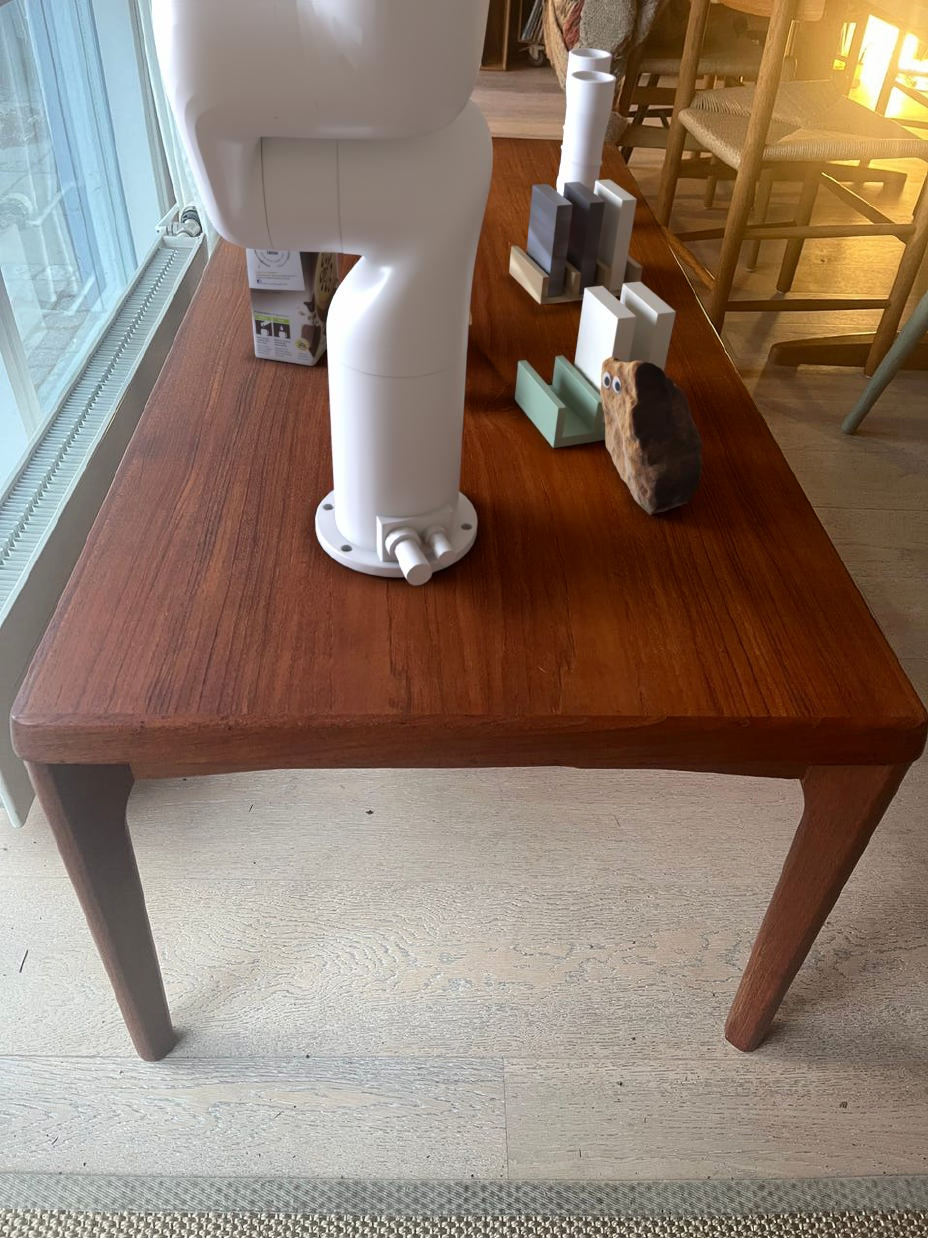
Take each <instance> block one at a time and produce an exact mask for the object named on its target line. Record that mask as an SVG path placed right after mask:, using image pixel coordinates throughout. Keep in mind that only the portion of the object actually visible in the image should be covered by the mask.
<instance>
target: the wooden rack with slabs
mask: <svg viewBox="0 0 928 1238" xmlns="http://www.w3.org/2000/svg"><path fill="white" fill-rule="evenodd" d="M531 189H532V190H531V200H530V201H531V202H530V210H529V211H530V212H529V221H528V232H527V243H526V253H525V251H524V250H523V249H522V248H520V246H518V245H511V247H510V259H509V272H508V273H509V274H510V275H511V276H512V277H513V278H514V279H515V280H516V281H517V283H519V284H520V286H522V287H523V289H524V290H525V291H527V293H528V294H529V295H530V296H531V297H532V298H533V299H534V300H535V301H536V302H537V303H538V304H539V305H550V304H556V303H565V302H575V301H583V298H584V290H585V288H587V287H596V286H603V287H604V288H605V289H607V290H608V291H609V288H610V282H611V275H612V270H611V269H610V268H609V267H608V266H607V265H606V264H604V263H603V262H602V261H601V260H600V259H599V258H598V257H597V256H598V249H599V242H600V235H601V228H602V221H603V214H604V207H605V201H603V200H602V199H601V198H600V197H598V196H597V195H596V194H594V193H593V192H592V191H591V190H589V189H588V188H587V187H585V186H584V185H583V184H581V183H580V182H567V183H564V192H563V196H562V195H561V194H559V193H558V192H557V189H555V188H554V187H552V186H551V185H549V184H548V183H541V184H532V188H531ZM642 273H643V266H642V265H641V264H640V263H639V262H637V261H636V260H635V259H634V258H632V256H630V255H629V254H628V257H627V263H626V269H625V275H624V281H623V283H632V282H641V279H642ZM609 292H610V293H611V294H612V295H613V296H614V297H617V296H619V297H621V292H622V289H621V290H613V291H609Z"/></svg>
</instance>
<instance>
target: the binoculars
mask: <svg viewBox="0 0 928 1238" xmlns="http://www.w3.org/2000/svg"><path fill="white" fill-rule="evenodd" d="M612 57H613V55H612V53H611V52H608V51H606V50H604V49H603V50H602V49H597V48H590V47H581V48H573V49H570V50H569V51H568V61H567V62H568V63H567V70H566V71H567V72H566V80H565V83H566V84H565V89H566V93H565V95H566V96H565V97H566V111H565V118H564V119H565V120H564V125H563V126H562V129H563V137H562V144H561V146H560V149H561V156H560V164H559V171H558V176H557V179H556V191H557V192H558V193H559V194H561V195H562V196H563V192H564V183H567V182H580V183H581V184H583V185H584V186H585V187H587V188H588V189H589V190H591V191H592V192H593V193H594V189H595V182H596V180H600V171H601V167H602V165H603V159H602V157H603V150H604V142H605V136H606V133H607V129H608V125H609V122H610V118H611V114H612V110H613V103H614V97H615V90H616V89H615V88H616V82H617V78H616V76H615V75H613V74H611V73H610V72H611V71H610V70H611V63H612Z"/></svg>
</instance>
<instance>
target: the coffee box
mask: <svg viewBox="0 0 928 1238" xmlns="http://www.w3.org/2000/svg"><path fill="white" fill-rule="evenodd" d="M245 255H246V266H247V267H246V268H247V278H248V279H247V280H248V289H249V298H250V309H251V310H250V311H251V320H252V321H251V322H252V332H253V342H254V355H255V357H256V358H258V359H265V360H272V361H277V362H279V361H280V362H285V363H290V364H297V365H302V366H303V365H304V366H310V367H313V366H316V364H317V363H318V361H319V359H320V358H321V356H322V355H323V354H324V353H325V352H326V350H327V317H328V311H329V308H330V305H331V302H332V299H333V297H334V295H335V293H336V291H337V289H338V288H339V286H340V278H339V277H340V275H339V274H340V273H339V256H338V255H339V253H335V252H300V251H275V250H259V249H249V248H245Z"/></svg>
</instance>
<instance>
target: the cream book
mask: <svg viewBox="0 0 928 1238" xmlns="http://www.w3.org/2000/svg"><path fill="white" fill-rule="evenodd" d="M594 194H596V195H597V196H598V197H600V198H601V199H602V200H603V201H605V207H604V214H603V221H602V228H601V235H600V242H599V249H598V256H597V257H598V258H599V259H600V260H601V261H602V262H603V263H604V264H606V265H607V266H608V267H609V268H610V269H611V270H612V275H611V282H610V288H609V291H613V290H621V289H622V286H623V281H624V275H625V269H626V263H627V257H628V255H629V250H630V243H631V237H632V232H633V225H634V220H635V213H636V207H637V202H638V201H637V200H638V199H637V198H636V197H634V195H632V194H630V193H629V192H628V191H626V190H625V189H624V188H622V187H621V186H620V185H618V184H617V183H615V182H614V181H613V180H612V179H599V180H596V182H595V189H594Z"/></svg>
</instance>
